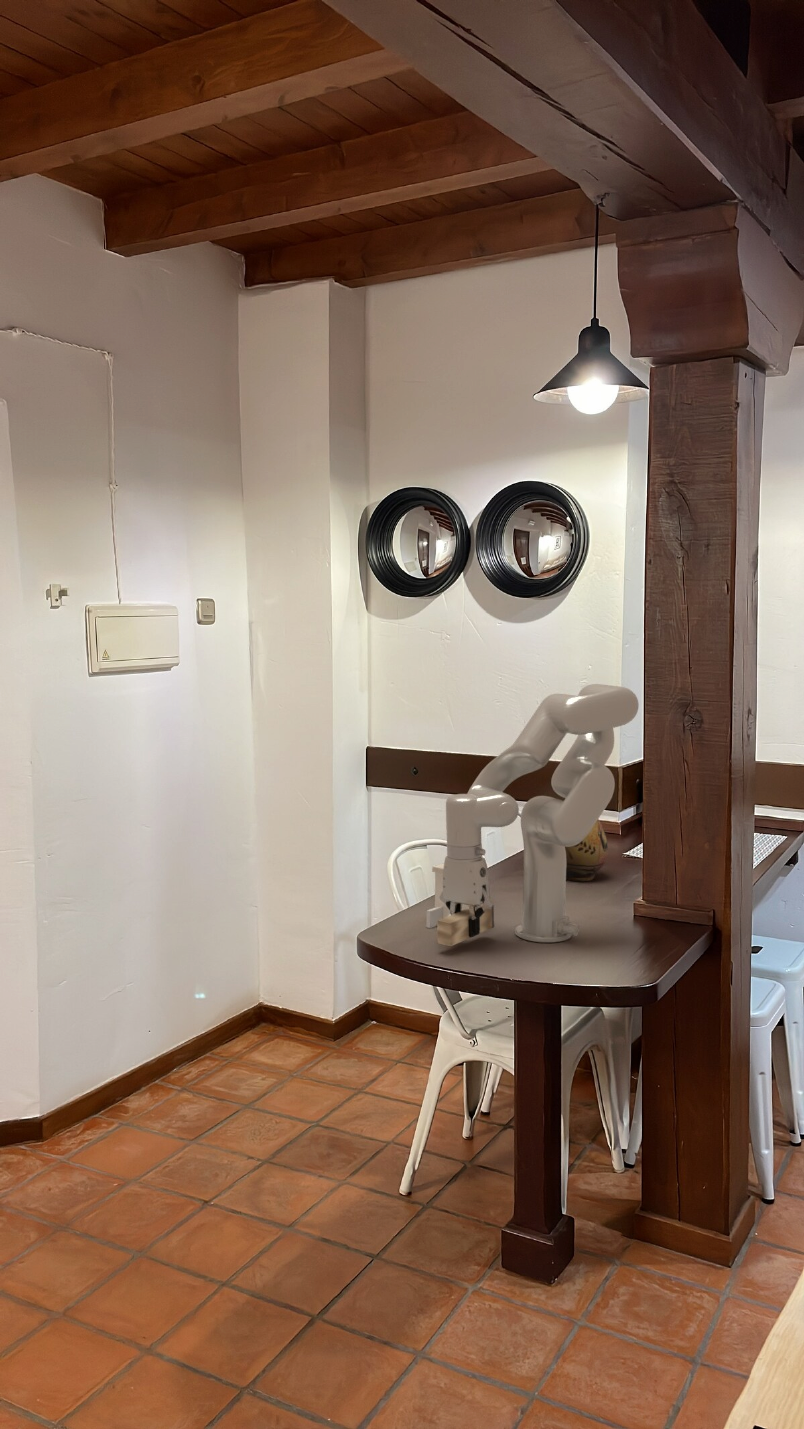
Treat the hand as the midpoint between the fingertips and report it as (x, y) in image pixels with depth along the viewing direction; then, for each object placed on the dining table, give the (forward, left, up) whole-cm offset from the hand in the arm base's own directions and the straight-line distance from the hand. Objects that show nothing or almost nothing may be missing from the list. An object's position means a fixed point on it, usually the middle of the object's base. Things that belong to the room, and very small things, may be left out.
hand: (466, 932), depth 235 cm
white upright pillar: (+12, -10, -3) cm, 15 cm away
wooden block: (0, 0, -1) cm, 1 cm away
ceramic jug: (+14, -71, -3) cm, 72 cm away
